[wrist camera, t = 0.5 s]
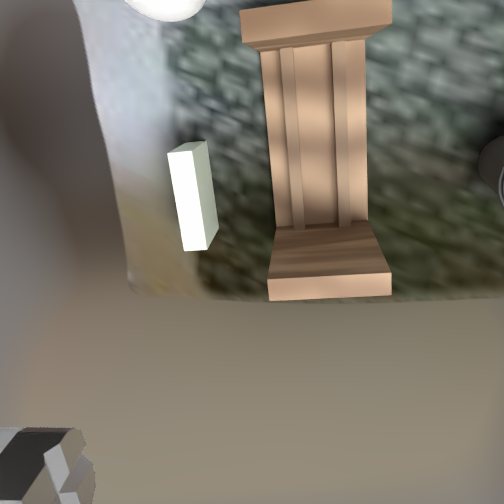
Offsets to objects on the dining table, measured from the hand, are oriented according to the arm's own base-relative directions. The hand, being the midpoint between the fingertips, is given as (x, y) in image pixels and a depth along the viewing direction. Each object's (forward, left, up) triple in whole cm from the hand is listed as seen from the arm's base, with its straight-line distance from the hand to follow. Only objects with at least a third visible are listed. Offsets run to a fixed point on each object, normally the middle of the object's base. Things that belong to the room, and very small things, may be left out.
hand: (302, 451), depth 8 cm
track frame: (0, +1, -43) cm, 43 cm away
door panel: (+4, -11, -43) cm, 45 cm away
